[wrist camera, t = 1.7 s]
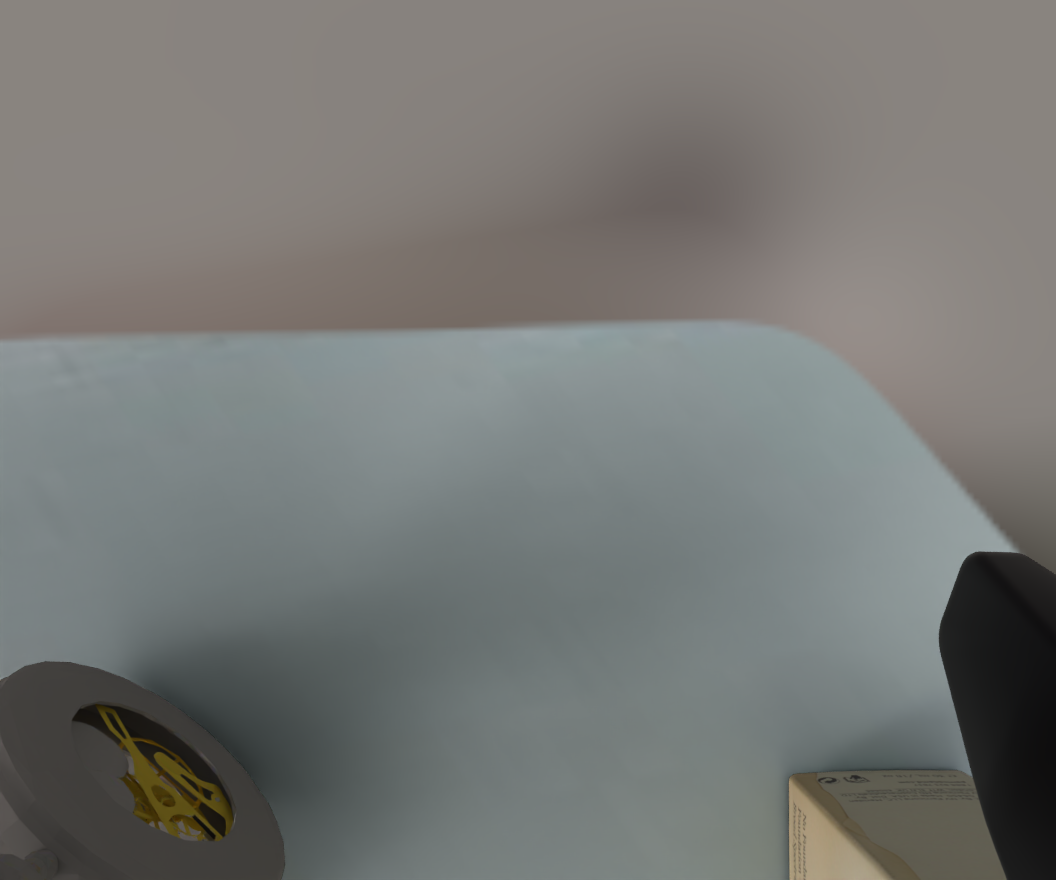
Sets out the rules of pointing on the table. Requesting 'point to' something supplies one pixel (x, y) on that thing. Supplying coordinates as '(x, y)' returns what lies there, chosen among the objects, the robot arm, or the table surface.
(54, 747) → the pocket watch
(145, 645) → the table surface
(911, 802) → the cosmetic box
